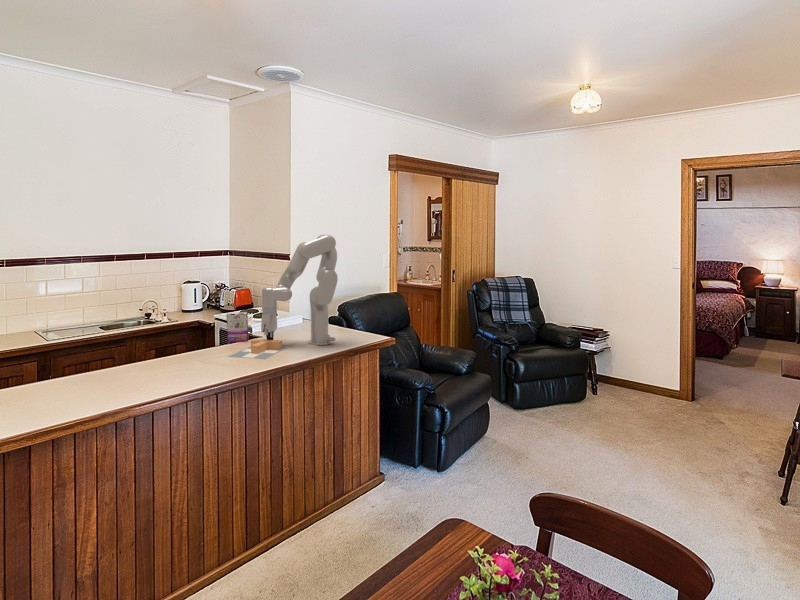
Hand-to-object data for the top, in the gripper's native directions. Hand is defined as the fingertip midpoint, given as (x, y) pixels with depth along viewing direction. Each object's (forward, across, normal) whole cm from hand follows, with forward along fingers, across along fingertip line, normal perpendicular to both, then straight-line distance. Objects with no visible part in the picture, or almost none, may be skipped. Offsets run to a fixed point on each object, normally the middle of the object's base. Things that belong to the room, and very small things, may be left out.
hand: (270, 344), depth 277 cm
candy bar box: (+2, -7, -23) cm, 24 cm away
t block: (+1, +10, 0) cm, 10 cm away
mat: (+2, +12, 0) cm, 12 cm away
